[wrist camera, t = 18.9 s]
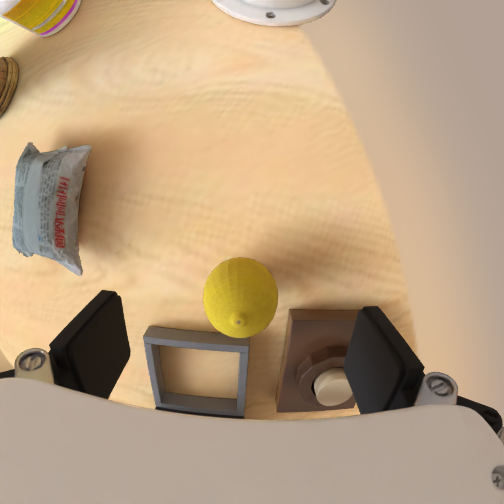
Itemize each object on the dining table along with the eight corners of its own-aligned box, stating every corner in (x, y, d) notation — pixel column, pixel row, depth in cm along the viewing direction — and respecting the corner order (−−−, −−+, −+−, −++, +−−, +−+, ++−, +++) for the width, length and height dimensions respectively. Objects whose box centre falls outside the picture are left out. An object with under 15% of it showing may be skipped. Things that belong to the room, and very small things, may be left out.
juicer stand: (144, 324, 26) (25, 554, 2) (254, 334, 26) (263, 621, 2) (162, 424, 30) (120, 586, 6) (245, 433, 31) (245, 607, 7)
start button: (317, 367, 23) (321, 380, 22) (353, 366, 23) (359, 377, 22) (310, 395, 24) (313, 407, 23) (344, 393, 24) (349, 404, 23)
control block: (289, 308, 26) (295, 331, 22) (376, 309, 26) (392, 329, 22) (275, 399, 29) (278, 424, 25) (348, 396, 29) (358, 418, 25)
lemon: (265, 239, 24) (273, 271, 16) (279, 297, 25) (290, 348, 18) (202, 254, 24) (182, 292, 16) (220, 310, 26) (210, 364, 18)
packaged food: (104, 147, 21) (74, 144, 17) (91, 270, 24) (64, 289, 20) (40, 142, 21) (9, 141, 16) (33, 251, 24) (4, 264, 19)
